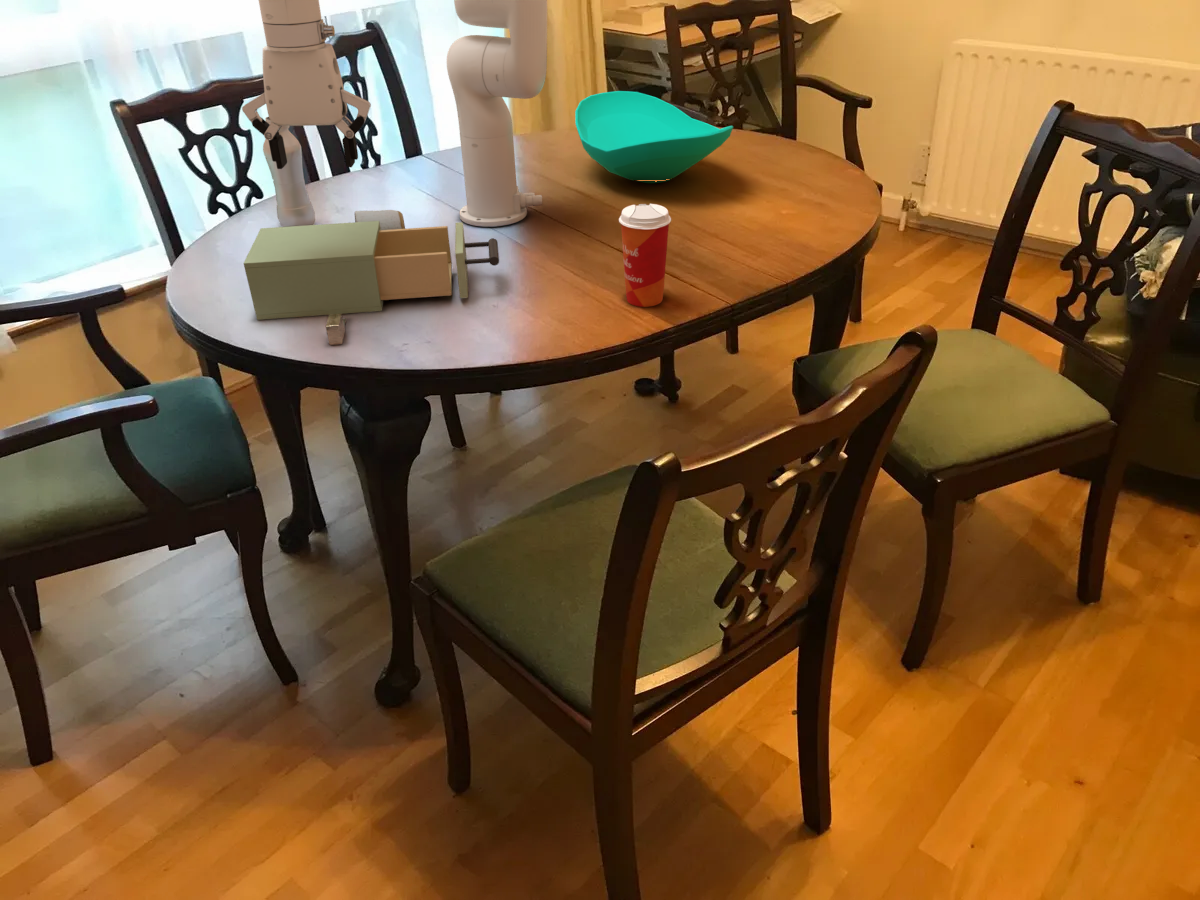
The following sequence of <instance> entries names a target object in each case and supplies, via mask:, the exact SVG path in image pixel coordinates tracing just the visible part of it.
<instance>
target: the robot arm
mask: <svg viewBox="0 0 1200 900" xmlns="http://www.w3.org/2000/svg"><path fill="white" fill-rule="evenodd" d="M453 3H454V9H455V13H456V15H457V17H458V19H459V20H460V21H461V22H463V23H464V24H466V25H469V26H474V27H481V28H482V27H483V28H493V29H506V30H507V29H508V31H509V35H510V36H509V37H506V36H505V37H504V36H498V35H484V34H483V35H481V34H469V35H464V36H462V37H459V38H457V39H456V40H454V41H453V42H452V44H451V45H450V46H449V48H448V51H447V55H446V70H447V75H448V79H449V83H450V86H451V89H452V92H453V97H454V99H455V100H454V102H455V105H456V106H455V107H456V111H457V118H458V119H457V121H458V129H459V130H458V131H459V141H460V151H461V159H462V161H461V162H462V168H463V169H462V171H463V181H464V189H465V198H466V199H465V200H466V204H465V205H464V206H463V207H462V208H461V209H460V210H459V218H460V220H461V222H463V223H465V224H468V225H470V226H475V227H487V228H490V227H491V228H492V227H504V226H508V225H513V224H515V223H518V222H520V221H523V219H525V218H526V216H527V215H528V210H527V207H528V206H533V207H538V206H539V207H540V206H543V195H542V194H536V192H526V193H525V192H524V193H523V191H520V189H519V185H518V183H517V171H516V169H517V168H516V159H515V158H516V156H515V143H514V129H513V118H512V114H511V112H510V109H509V107H508V105H507V103H506V101H505V99H504V98H509V99H522V100H526V99H527V100H528V99H533V98H535V97H537V96H538V95H539V94H540V93H541V92H542V90H543V89H544V86H545V83H546V77H547V70H548V69H547V68H548V66H547V65H548V0H454V1H453ZM258 4H259V5H258V6H259V11H260V16H261V22H262V28H263V32H264V37H265V38H264V39H265V43H266V45H265V46H263V47H262V78H263V79H262V80H263V90H264V92H263V93H261V94H260V95H258V96H256V97H255V98H253V99H251V100H250V101H248V102H247V103H245V104H244V105H243V106H242V107H241V111H242V112H243V114H244V115H245V116H246V118H247V119H248V121H249V122H250V123H251V126H252V127H253V128H254V129H255V130H256V131H258V133H260V134H261V135H262V136H263V137H264V140H265V139H267V140H268V141H269V146H270V151H271V156H272V160H273V162H276V165H277V169H282V168H283V167H284V166H285V165H286V164H287V157H286V152H285V147H284V141H283V137H282V136H281V135H279V130H280V129H281V127H282V126H290V127H309V126H310V127H311V126H333V125H334V127H336V128H337V129H338V130H339V131H340V132H341V133H342V134H343V137H342V141H341V142H342V147H343V148H342V149H343V154H344V155H343V156H344V161H345V162H344V163H345V167H347V168H353V166H354V164H355V163H356V161H357V160H358V159H359V153H358V146H357V145H358V144H357V140H356V139H357V138H356V135H357V133H358V132H359V131H360V130H361V128H362V127H363V125H364V124H365V123H366V121H367V118H368V115H369V112H370V110H371V107H372V105H371V102H370V101H368V100H367V99H364V98H362V97H360V96H358V95H356V94H354V93H351V92H350V91H347V90H346V89H345V88H344V83H343V78H342V74H341V70H340V66H339V62H338V59H337V56H336V52H335V50H334V47H333V44H331V43H326V41H327V39H328V38H329V39H330V37H335V35H336V32H335V27H334V25H328V24H326V23H325V22H324V19H323V18H322V12H321V7H320V6H321V5H320V0H258ZM265 105H266V110H267V115H268V117H269V118H270V121H271V124H269V123H267V122H266V119H264V118H263V117H261V116H260V114H259V112H258V110H259V109H260V108H261V107H263V106H265ZM348 105H349V106H351V107H354V108H356V109H357V114H356V117H355V119H354V120H353V121H351V120H350V118H348V117H347V114H348Z"/></svg>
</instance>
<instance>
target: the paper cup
mask: <svg viewBox="0 0 1200 900" xmlns="http://www.w3.org/2000/svg"><path fill="white" fill-rule="evenodd" d="M671 221H672V217H671V215H670V214H669V210H668V209H667V208H666V207H665V206H663V205H660V204H657V203H649V204H647V203H640V204H638V205H636V204H631V205H627V206H626V207H624V208H623V209H622V210H621V214H620V216H619V218H618V223H619V224H620V226H621V227H620V228H621V241H622V258H623V271H624V273H623V274H624V284H625V285H624V286H625V296H626V301H627V303H628V304H630V305H632V306H634V307H640V308H648V307H649V308H650V307H655V306H658V305H659V304H661V303H662V302H663V297H664V289H665V278H666V265H667V254H668V253H667V251H668V240H669V227H670V226H669V225H670V223H671Z"/></svg>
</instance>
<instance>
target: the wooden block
mask: <svg viewBox="0 0 1200 900" xmlns="http://www.w3.org/2000/svg"><path fill="white" fill-rule="evenodd" d="M327 316H328V317H327V320H326V325H325V329H326V335H327V338H328V339H327V340H328V345H329V346H337V345H342V344H343V343H344V337H345V333H346V330H345V328H346V323H347V319H346V318H343V314H329V315H327Z"/></svg>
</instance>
